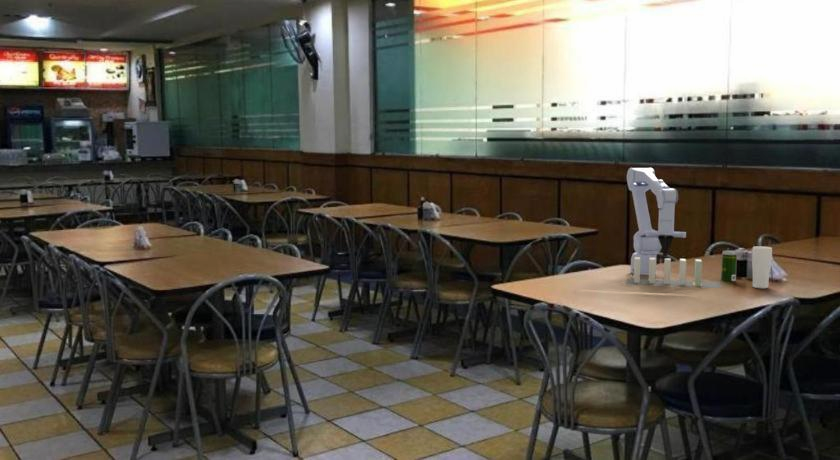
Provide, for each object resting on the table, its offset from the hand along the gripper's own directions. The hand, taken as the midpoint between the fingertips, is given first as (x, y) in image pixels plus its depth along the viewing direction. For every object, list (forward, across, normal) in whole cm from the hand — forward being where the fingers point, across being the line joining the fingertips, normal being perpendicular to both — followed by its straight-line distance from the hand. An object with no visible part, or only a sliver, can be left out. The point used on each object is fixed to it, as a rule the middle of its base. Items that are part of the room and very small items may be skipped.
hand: (664, 255), depth 311 cm
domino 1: (+10, -10, -5) cm, 15 cm away
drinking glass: (+10, +34, -2) cm, 36 cm away
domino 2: (+10, -5, -5) cm, 12 cm away
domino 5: (+10, +12, -5) cm, 16 cm away
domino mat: (+10, +3, -5) cm, 12 cm away
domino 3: (+10, +1, -5) cm, 11 cm away
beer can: (+11, +24, +6) cm, 27 cm away
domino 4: (+10, +6, -5) cm, 12 cm away
